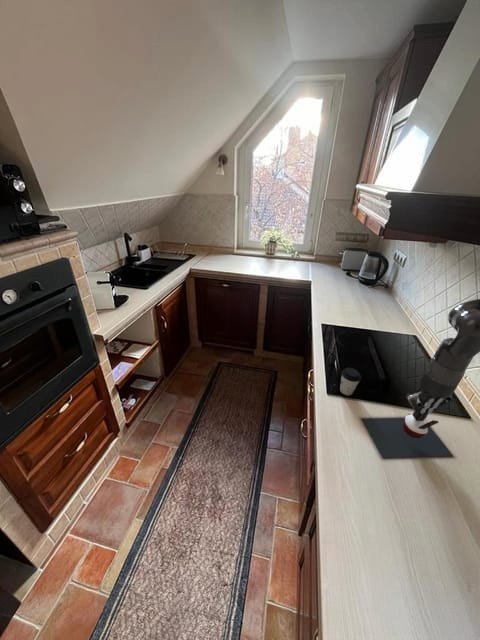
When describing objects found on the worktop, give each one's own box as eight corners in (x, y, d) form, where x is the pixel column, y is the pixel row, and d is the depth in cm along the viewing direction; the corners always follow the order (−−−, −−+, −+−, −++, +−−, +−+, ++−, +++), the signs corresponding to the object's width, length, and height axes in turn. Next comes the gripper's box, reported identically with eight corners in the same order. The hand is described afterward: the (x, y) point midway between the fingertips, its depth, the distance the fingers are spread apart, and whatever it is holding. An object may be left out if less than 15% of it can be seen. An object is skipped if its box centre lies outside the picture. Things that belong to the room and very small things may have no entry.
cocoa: (400, 418, 85) (413, 392, 79) (422, 427, 82) (437, 400, 76) (399, 440, 77) (414, 413, 72) (423, 450, 75) (440, 423, 69)
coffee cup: (358, 392, 99) (365, 372, 94) (350, 401, 95) (356, 381, 90) (342, 382, 103) (348, 363, 98) (333, 390, 99) (338, 371, 94)
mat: (422, 418, 89) (422, 417, 89) (452, 456, 77) (453, 455, 77) (361, 419, 88) (361, 418, 88) (382, 458, 76) (382, 457, 76)
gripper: (427, 385, 64) (404, 430, 73) (478, 385, 65) (448, 429, 73) (409, 366, 71) (389, 409, 79) (455, 365, 71) (430, 408, 80)
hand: (418, 418), depth 76 cm, fingers closed on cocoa, 1 cm apart
